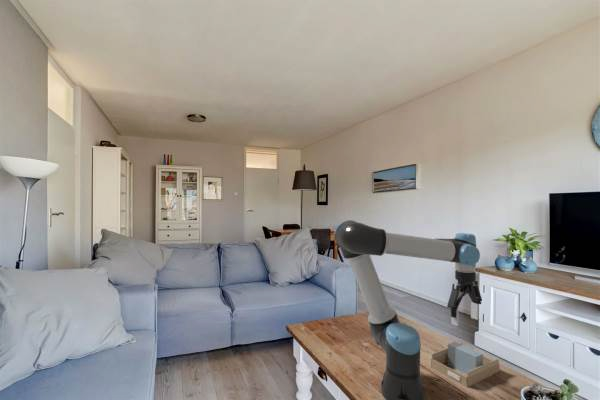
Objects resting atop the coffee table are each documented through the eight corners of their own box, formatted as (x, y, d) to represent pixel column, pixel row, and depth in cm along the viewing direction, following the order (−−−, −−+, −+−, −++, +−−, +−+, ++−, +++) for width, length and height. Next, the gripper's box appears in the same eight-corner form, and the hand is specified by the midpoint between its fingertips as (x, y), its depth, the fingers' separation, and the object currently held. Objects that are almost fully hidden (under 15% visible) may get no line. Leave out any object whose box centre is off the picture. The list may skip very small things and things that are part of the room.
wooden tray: (466, 388, 113) (466, 372, 113) (430, 368, 127) (430, 354, 127) (499, 372, 124) (499, 358, 124) (462, 355, 138) (462, 342, 138)
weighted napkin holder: (475, 379, 119) (475, 357, 119) (447, 365, 129) (447, 344, 129) (482, 376, 121) (482, 353, 121) (454, 362, 132) (455, 341, 132)
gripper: (455, 276, 116) (454, 331, 116) (491, 269, 128) (491, 319, 128) (438, 272, 123) (437, 324, 123) (474, 266, 135) (473, 313, 135)
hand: (465, 321), depth 126 cm, fingers open, 13 cm apart
